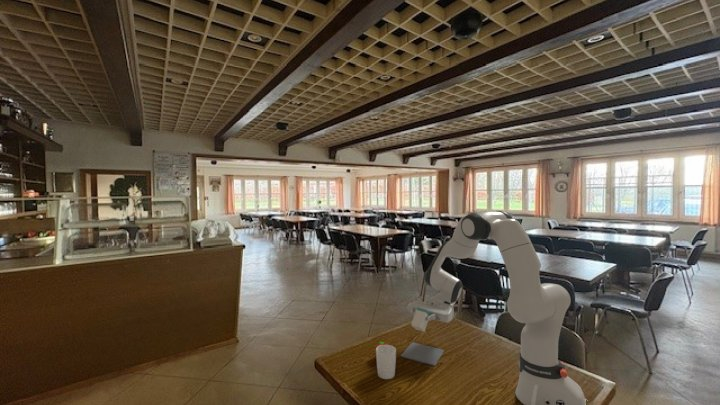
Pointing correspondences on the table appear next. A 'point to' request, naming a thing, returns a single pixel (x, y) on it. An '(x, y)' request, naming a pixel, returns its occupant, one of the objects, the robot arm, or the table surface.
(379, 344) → the clementine
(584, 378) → the table surface
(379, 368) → the white cup
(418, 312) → the block
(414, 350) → the slate tile
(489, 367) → the table surface
